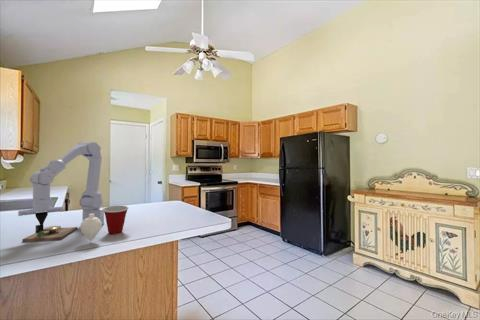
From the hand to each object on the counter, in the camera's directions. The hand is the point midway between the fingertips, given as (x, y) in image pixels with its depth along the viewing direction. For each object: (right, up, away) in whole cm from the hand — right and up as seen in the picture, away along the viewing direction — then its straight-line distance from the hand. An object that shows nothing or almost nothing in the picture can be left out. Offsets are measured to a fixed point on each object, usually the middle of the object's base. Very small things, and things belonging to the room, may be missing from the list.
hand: (41, 230), depth 101 cm
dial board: (+1, -4, +5) cm, 6 cm away
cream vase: (+24, -4, -4) cm, 25 cm away
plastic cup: (+27, -4, +10) cm, 29 cm away
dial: (0, -1, +3) cm, 3 cm away
